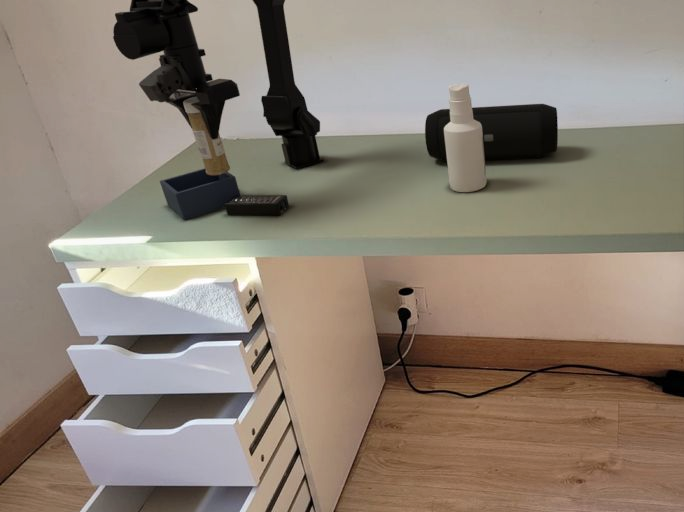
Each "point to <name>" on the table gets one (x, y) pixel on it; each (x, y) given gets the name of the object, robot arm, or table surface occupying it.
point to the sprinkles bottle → (206, 142)
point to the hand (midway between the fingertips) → (207, 137)
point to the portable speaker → (502, 131)
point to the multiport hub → (257, 205)
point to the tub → (198, 192)
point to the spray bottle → (464, 143)
